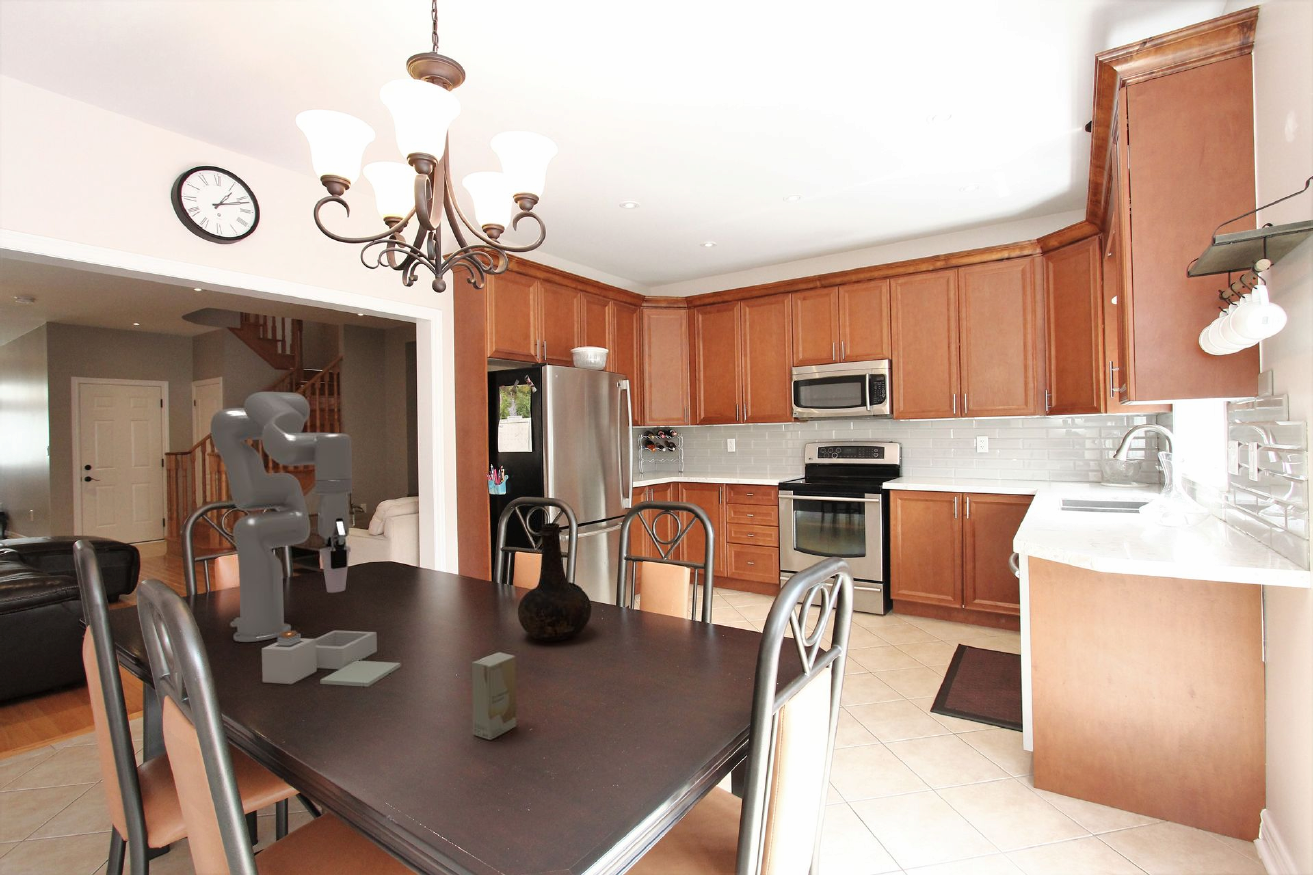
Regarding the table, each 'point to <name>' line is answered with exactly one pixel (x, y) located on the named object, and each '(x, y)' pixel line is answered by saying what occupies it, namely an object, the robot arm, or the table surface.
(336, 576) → the smoothie
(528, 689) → the table surface
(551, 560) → the glass bottle
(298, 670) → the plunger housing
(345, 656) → the holder
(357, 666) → the coaster
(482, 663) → the skincare box
